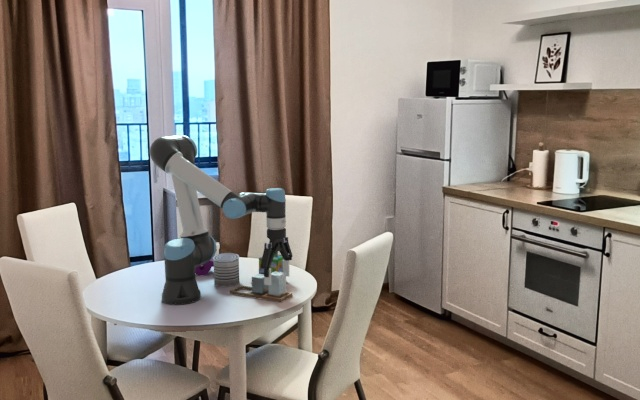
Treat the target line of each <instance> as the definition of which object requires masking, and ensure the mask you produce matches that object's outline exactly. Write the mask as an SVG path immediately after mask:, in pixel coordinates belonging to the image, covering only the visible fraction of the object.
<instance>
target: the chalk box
mask: <svg viewBox="0 0 640 400" xmlns="http://www.w3.org/2000/svg"><path fill="white" fill-rule="evenodd" d="M278 253H279V251H278V252H277V253H276V254H275V255H274V258H273V261H272V263H271V266H270V269H271V273H273V272H275V271H276V272H283V260H285V259H284V258H283V257H282V255H281V254H280V253H279V254H278ZM262 257H263V255H262V256H260V257H258V274H264V269H263V268H260V265H261V261H262Z"/></svg>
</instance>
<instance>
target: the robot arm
mask: <svg viewBox="0 0 640 400" xmlns="http://www.w3.org/2000/svg"><path fill="white" fill-rule="evenodd" d="M197 155H198V147H197V145H196V143H195V141H194V140H193V139H192V138H191V137H189V136H187V135H182V134H181V135H180V134H178V135H177V134H175V135H169V136H160V137H158V138H156V139H155V140H153V142H152V143H151V145H150V147H149V156H150V159H151V161H152V162H153V164H154V165H156V167H158V168H159V169H160V170H161V171H163V172H164V173H166V174H171V179H172V184H173V188H174V193H175V194H174V195H175V199H176V204H177V208H178V213H179V217H180V222H181V229H182V232H181V234H180V236H179V238H177V239H176V238H175V239H172V240H169V241H168V242H166V243H165V244H164V246H163V247H164V249H163V250H164V251H163V257H164V258H163V259H164V274H165V275H164V276H165V283H164V285H163V289H162V290H163V291H162V292H161V301H162V303H164V304H167V305H168V304H169V305H174V306H175V305H178V306H179V305H187V304H191V303H195V302H198V301H199V300H200V299H201V298H202V295H201V290H200V288H199V284H198V282H197V278H196V274H195V268H196V267H198V266H200V265H202V264H205V263H207V262H208V261H209V260H211V259H212V258H213V257H214V256H216V252H217V243H216V240H215V239H214V237H212V235H211V234H210V232H209V230H208V229H207V228H206V227H205V226H204V221H203V216H202V211H201V206H200V202H199V196H198V193H199V194H201V195H203V197H205V198H206V199H208V200H209V201H211V202H212V203H213V204H215V205H217V206H218V207H219V208H221V209H222V213H223V215H224V216H225V217H226V218H228V219H230V220H231V219H232V220H235V219H239V218H243V217H244V216H246V215H249V214H253V213H265V214H266V219H265V220H266V237H267V239H268V240H269V242H264V248H263V253H262V256H263V257H262V256H261V257H262V261H261V265H260V268H263V269H264V284H265V285H271V269H270V266H271V263H272V261H273V258H274V255H275V254H276V253H277V252H278V253H279V254H280V255H282V257H283V258H284V259H285V260H283V273H286V277H290V261H292V260H293V253H292V250H291V249H292V248H291V246H290V243H289V237H288V236H287V229H286V225H287V224H286V222H287V221H286V202H287V199H286V192H285V189H284V188H281V187H276V188H275V187H271V188H267V189H266V190H265V193H261V192H260V193H259V192H249V191H247V192H240V193H239V194H237V193H235V192H234V191H232V190H231V189H229V188H228V187H227V186H225V185H224V184H222V183H221V182H220V181H218V180H216V179H215V178H214V177H212V176H211V175H209V174H208V173H206V172H205V171H204V170H202V169H201V168H200V167H198V166H196V164H195V163H196V162H195V159H196V157H197ZM197 192H198V193H197Z"/></svg>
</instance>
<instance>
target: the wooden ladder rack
mask: <svg viewBox="0 0 640 400" xmlns="http://www.w3.org/2000/svg"><path fill="white" fill-rule="evenodd" d="M241 290H246V291H247V290H249V291H247V292H242V291H241ZM229 294H230V295H234V296H241V297H248V298H254V299H258V300H259V299H260V300H266V301H270V300H271V302H276V301H277V303H283V302H284V301H286V300H288V299H290V298H292V297H293V292H289V291H288V292H287V291H286V295H285V296H283V297H282V298H277V297H271V296H269V293H267V294H265V295H263V296H262V295H256V294H252V286H248V285H242V284H241V285H240V286H238V287H235V288H233V289H230V290H229Z"/></svg>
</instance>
